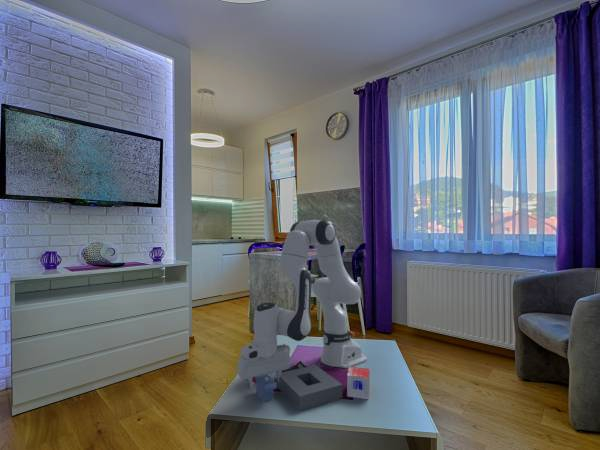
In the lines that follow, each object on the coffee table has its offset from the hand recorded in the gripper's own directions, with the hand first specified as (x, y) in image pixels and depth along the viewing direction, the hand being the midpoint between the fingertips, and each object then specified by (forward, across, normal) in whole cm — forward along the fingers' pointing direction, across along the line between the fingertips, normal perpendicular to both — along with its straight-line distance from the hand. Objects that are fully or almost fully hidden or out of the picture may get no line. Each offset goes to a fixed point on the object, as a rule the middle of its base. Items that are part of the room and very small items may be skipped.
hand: (264, 384), depth 116 cm
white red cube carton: (+4, -33, +14) cm, 36 cm away
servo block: (+4, 0, 0) cm, 4 cm away
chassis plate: (+4, -16, +5) cm, 17 cm away
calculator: (+5, -18, -12) cm, 22 cm away
